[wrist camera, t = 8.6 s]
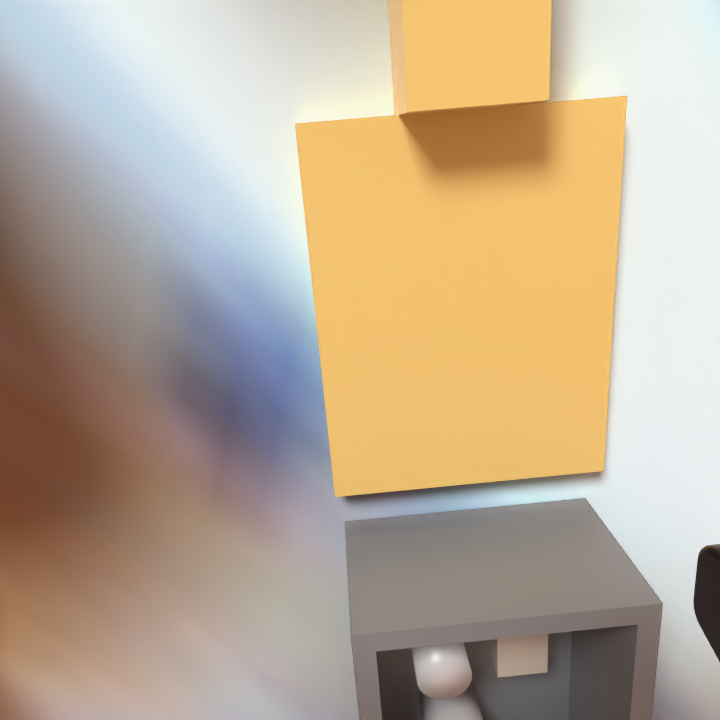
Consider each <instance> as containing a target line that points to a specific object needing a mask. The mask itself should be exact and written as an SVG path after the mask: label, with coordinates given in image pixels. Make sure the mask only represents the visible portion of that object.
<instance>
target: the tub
mask: <svg viewBox="0 0 720 720" xmlns="http://www.w3.org/2000/svg"><path fill="white" fill-rule="evenodd" d="M345 531H346V551H347V571H348V591H349V612H350V632H351V643H352V652H353V662H354V671H355V681H356V690H357V699H358V709H359V718H360V720H651V716H652V706H653V696H654V686H655V676H656V666H657V656H658V646H659V636H660V626H661V616H662V606H663V603H662V602H661V600H660V599H659V598H658V596H657V595H656V593H655V592H654V591H653V589H652V588H651V587H650V585H649V584H648V583H647V581H646V580H645V579H644V577H643V576H642V574H641V573H640V572H639V570H638V569H637V568H636V566H635V565H634V564H633V562H632V561H631V560H630V558H629V557H628V555H627V554H626V553H625V551H624V550H623V549H622V547H621V546H620V545H619V543H618V542H617V541H616V539H615V538H614V536H613V535H612V534H611V532H610V531H609V530H608V528H607V527H606V526H605V524H604V523H603V521H602V520H601V519H600V517H599V516H598V515H597V513H596V512H595V511H594V509H593V508H592V507H591V505H590V504H589V502H588V501H587V500H586V498H583V499H573V500H562V501H552V502H542V503H532V504H522V505H511V506H501V507H491V508H481V509H471V510H461V511H450V512H440V513H430V514H420V515H410V516H399V517H389V518H379V519H369V520H359V521H349V522H345Z"/></svg>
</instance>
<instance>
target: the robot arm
mask: <svg viewBox="0 0 720 720" xmlns="http://www.w3.org/2000/svg"><path fill="white" fill-rule="evenodd" d="M694 610H695V614H696V617H697V620H698V623H699V625H700V627H701V628H702V630H703V632H704V634H705V636H706V638H707V639H708V641H709V643H710V645H711V647H712V649H713V650H714V652H715V654H716V656H717V658H718V659H719V661H720V544H716V545H708V546H705V547H704V548H702V549H701V551H700V553H699V556H698V562H697V572H696V582H695V591H694Z"/></svg>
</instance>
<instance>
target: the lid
mask: <svg viewBox="0 0 720 720" xmlns="http://www.w3.org/2000/svg"><path fill="white" fill-rule="evenodd" d="M551 7H552V0H388V11H389V28H390V45H391V63H392V80H393V98H394V115H393V116H381V117H369V118H357V119H345V120H333V121H321V122H309V123H297V124H295V129H296V138H297V147H298V157H299V166H300V175H301V184H302V194H303V203H304V212H305V222H306V231H307V240H308V249H309V259H310V268H311V277H312V287H313V296H314V305H315V314H316V324H317V333H318V342H319V352H320V361H321V370H322V379H323V389H324V398H325V407H326V417H327V426H328V435H329V445H330V454H331V463H332V472H333V482H334V491H335V497H341V496H351V495H361V494H372V493H382V492H392V491H403V490H413V489H423V488H434V487H444V486H454V485H465V484H475V483H485V482H496V481H506V480H516V479H526V478H537V477H547V476H557V475H568V474H578V473H588V472H599V471H604V460H605V444H606V428H607V411H608V395H609V379H610V363H611V347H612V331H613V315H614V299H615V283H616V266H617V250H618V234H619V218H620V202H621V186H622V170H623V154H624V138H625V121H626V105H627V96H619V97H607V98H595V99H584V100H572V101H560V102H548V103H536V102H542V101H547V100H549V95H550V51H551ZM530 103H536V104H530Z"/></svg>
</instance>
